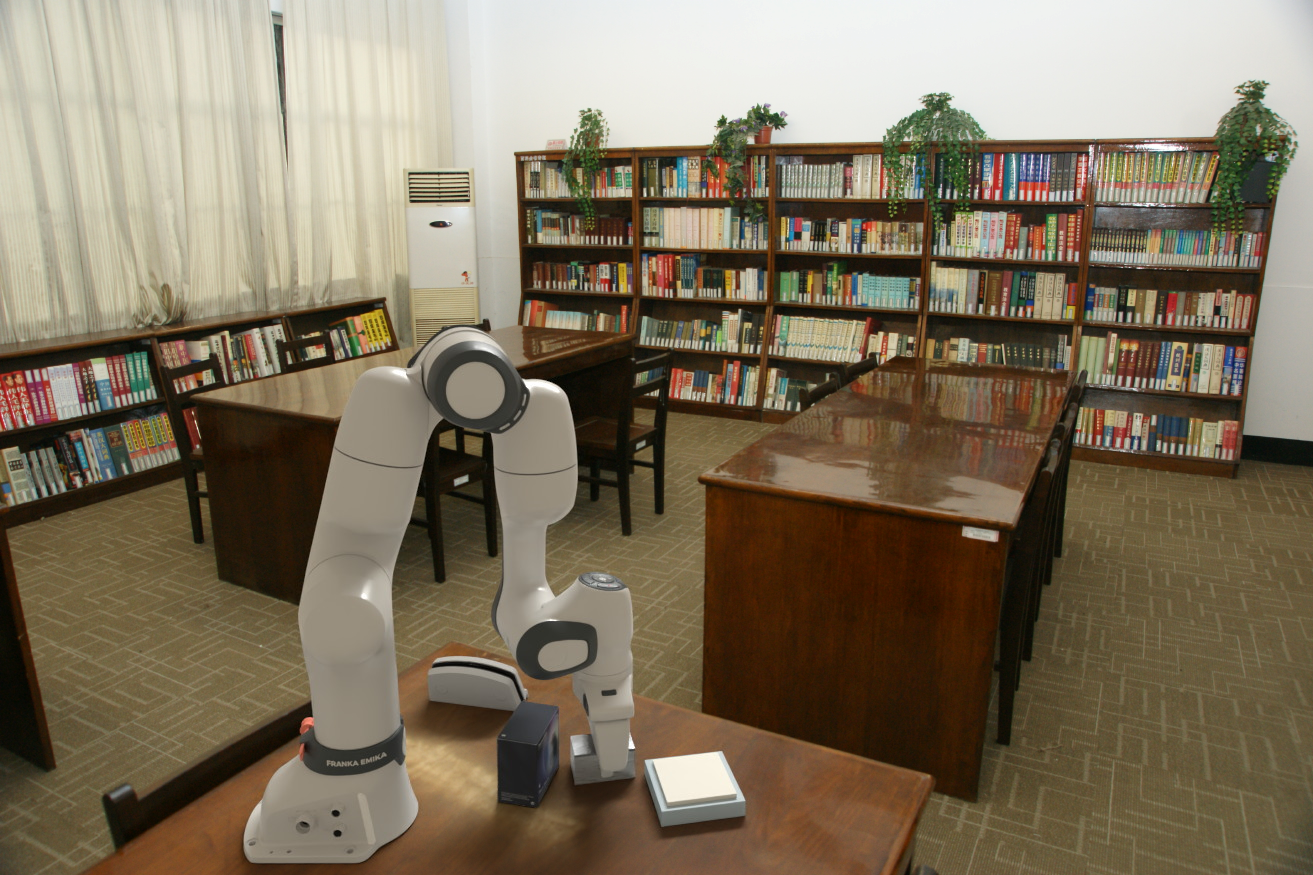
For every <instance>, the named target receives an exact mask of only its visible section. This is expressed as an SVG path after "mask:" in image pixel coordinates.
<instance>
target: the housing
mask: <svg viewBox="0 0 1313 875" xmlns="http://www.w3.org/2000/svg"><path fill="white" fill-rule="evenodd" d="M632 737H633V736H632V735H631V733H630V737H629V749H628V760H627V765H626V767H625V769H624V770H622V771H615V772H613V775H612V776H611V777H604V778H603V777H602V776H601V773H600V767H599V762H598V758H597V754H596V750H595V746H594V742H593V738H592V734H591V733H585V734H576V735H570V739H569V740H570V767H571V772H572V777H573V782H574V786H577V785H585V784H593V783H594V784H595V783H601V782H609V781H617V780H625V779H633V778H636V747H635V744H634V740H633V738H632Z"/></svg>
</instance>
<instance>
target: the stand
mask: <svg viewBox="0 0 1313 875" xmlns="http://www.w3.org/2000/svg"><path fill="white" fill-rule="evenodd" d="M643 775H644V777H645V781H646V782H647V786H648V790H649V792H650V795H651V798H652V801H653V803H654V804H653V805H654V807H655V810H656V813H657V817H658V820H659V824H660V826H661V827H662V828H664V827H670V826H678V825H685V824H691V823H693V824H694V823H700V822H707V821H716V820H721V819H729V818H738V817H745V816H746V804H747V803H746V802H747V801H746V799H745V797H744V794H743V792H742V790H741V788H740V786H739V784H738V782H737V779H736V778H735V776H734V773H733V772H732V769H731V767H730V765H729V763H728V761H727V758H726V757H725V755H724V753H723V751H722V750H721V751H720V750H718V751H711V752H710V751H709V752H703V753H694V754H685V755H677V756H676V755H675V756H668V757H667V756H666V757H659V758H651V759H650V758H649V759H645V760H644V774H643Z"/></svg>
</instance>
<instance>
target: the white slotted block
mask: <svg viewBox="0 0 1313 875" xmlns="http://www.w3.org/2000/svg"><path fill="white" fill-rule="evenodd" d="M430 666H431V668H429V669H428V672H427V674H426V675H427V676H426V681H427V689H428V690H427V691H428V698H429V701H432V702H439V703H446V704H447V703H448V704H456V705H462V706H470V707H478V708H488V709H495V710H502V711H508V712H509V711H510V712H511V711H512V712H514V711H515V710H516V708H517V707H518V705H519V704H520V702H521V701H526V700H527V699H528V698H529V693H528V692H529V691H528V689H527V688H524V686H523V682H522V680H521V677H520V675H519V672H518V670H517V669H516V667H514V666H511V665H509V664H506V663H504V662H499V661H496V660H492V659H489V658H483V657H477V656H468V655H467V656H465V655H464V656H463V655H453V656H443V657H437V658H436V659H434V661H433V662H432V664H431V665H430Z"/></svg>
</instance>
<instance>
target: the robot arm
mask: <svg viewBox="0 0 1313 875" xmlns="http://www.w3.org/2000/svg"><path fill="white" fill-rule="evenodd" d="M443 419H444V420H446V421H448V422H449V423H450V424H453V425H455V426H458V427H461V428H465V429H468V430H469V429H470V430H476V431H481V432H485V433H490V434H491V435H490V436H491V440H492V446H493V451H492V452H493V471H494V472H493V473H494V483H495V490H496V496H497V502H498V506H499V507H498V508H499V511H500V517H501V577H500V583H499V586H498V589H497V591H496V593H495V596H494V599H493V601H492V606H491V612H490V615H491V616H490V618H491V623H492V626H493V629H494V630H495V632H496V633H497V634H498V636H499V637H500V638H501V640H503V642H504V643H505V645H506V647H507V649H508V651H509V652H510V654H511V656H512V657H513V659H514V660H515V662H516V663H517V665H518V668H519V669H520V671H522V672H523V673H524V674H525V675H526V676H527V677H529V678H532V679H534V680H538V681H539V680H540V681H549V680H550V681H551V680H554V679H558V678H562V677H564V676H567V675H572V692H573V694H574V696H575V697H576V698H577V699H578V701H579V702H580V704H581V705H582V707H583V709H584V711H585V713H586V718H587V721H588V725H589V729H590V734H592V738H593V742H594V746H595V750H596V754H597V758H598V762H599V767H600V773H601V776H602V777H603V778H604V777H611V776H612V775H613V772H615V771H622V770H624V769H625V767H626V765H627V760H628V749H629V737H630V734H631V732H630V731H631V718H634V716H635V700H634V695H633V690H634V689H633V688H634V687H633V686H634V682H633V681H634V667H633V666H634V658H633V653H632V650H631V642H632V640H633V637H634V617H633V616H634V615H633V604H632V596H631V591H630V589H629V587H628V586H627V585H626V584H625V583H624V581H623V580H621V579H620V578H618V577H617V576H615V575H613V574H608V573H607V572H602V571H588V572H584V573H581V574H579V575H578V576H577V577H576V579H575V581H574V582H573V583H572V584H571V585H570V586H569V587H568V588H567V589H566V590H564V591H563V592H561V593H560V594H558V595H557V596H556V595H555V593H554V592H553V590H552V588H551V586H550V585H549V583H548V580H547V576H546V542H547V541H546V540H547V539H546V538H547V537H546V535H547V529H548V526H549V525H552V524H555V523H558V522H559V521H561V520H562V519H564V518H565V517H566V516H567V515H568V514H570V511H572V509H573V507H574V505H575V502H576V497H577V496H576V495H577V490H578V482H579V480H578V476H579V474H578V450H577V448H578V447H577V438H576V430H575V424H574V418H573V414H572V410H571V406H570V402H569V398H568V395H567V394H566V392H565V391H564V389H562V388H561V387H560V386H559V385H557V384H555V383H553V382H552V381H551V382H550V381H547V380H543V379H540V378H539V379H538V378H537V379H536V378H530V379H525V378H522V377H521V374H520V373H519V372H518V371H517V369H516V367H515V366H514V364H513V362H512V361H511V360H510V359H509V355H508V353H507V352H506V351H505V349H504V347H503V346H502V344H501V343H500V342H498V341H497V340H496V339H495V338H494V337H493V336H491V335H490V334H489V333H488V332H487V331H485V330H483V329H481V328H480V327H477V326H474V325H471V324H463V323H462V324H461V323H460V324H453V325H449V326H447V327H444V328H442V329H440V330H439V331H437V332H436V333H434V334H433V335H432V336H431V337H430V338H429V339H428V340H427V341H426V342H425V343H424V344H423V345H422V347H421V348H420V349H418V351H417V352H416V353H415V354H413V356H412V357H411V358H410V359H409V360H408V362H407V365H406V367H398V366H393V365H392V366H391V365H390V366H388V365H383V366H377V367H376V366H375V367H373V368H370V369H367V370H365V371H364V372H362V373H361V374H360V376H359V377H358V378H357V380H356V381H355V383H354V386H353V388H352V390H351V392H350V394H349V397H348V399H347V401H346V405H345V406H344V409H343V412H342V415H341V418H340V422H339V425H338V428H337V432H336V436H335V440H334V442H333V443H334V444H333V448H332V453H331V458H330V462H329V467H328V472H327V477H326V481H325V486H324V490H323V494H322V499H321V504H320V508H319V512H318V518H317V521H316V525H315V529H314V530H315V531H314V534H313V539H312V544H311V547H310V552H309V557H308V560H307V566H306V568H305V569H306V570H305V576H304V581H303V585H302V591H301V595H300V600H299V606H298V610H297V611H298V612H297V618H298V620H297V621H298V626H299V634H300V642H301V646H302V653H303V658H304V663H305V667H306V673H307V675H308V676H307V677H308V681H309V687H310V688H309V689H310V699H311V710H312V717H311V716H310V717H309V716H308V717H305V718H304V719H303V720H302V722H301V726H300V728H299V734H301V736H300V738H299V742H298V743H299V744H298V746H299V751H298V754H297V755H296V756H295V757H293V758H292V759H290V760H289V761H287V763H286V762H285V764H284V765H282V766H281V767H279V768H278V769H277V770H276V771H275V772H274V774H273V775H272V777H271V778H270V780H269V782H268V783H267V785H266V788H265V790H264V793H263V797H262V799H261V800H260V801H259V802H258V803H257V804H256V806H255V807H254V808H253V810H252V812H251V813H250V816H249V818H248V820H247V822H246V825H245V829H244V833H243V852H244V855H245V857H246V859H247V860H248V861H249V862H250V863H253V864H359V863H362V862H365V861H367V860H368V859H369V858H370V857H371V856H372V855H373V854H374V853H376V851H377V850H378V849H380V848H381V847H382V846H384V845H386V844H388V843H389V842H391V841H393V840H395V839H397V838H398V837H400V836H401V835H402V834H403V833H405V832H406V831H407V830H408V828H409V827H410V826H411V825H412V824H413V823H414V822H415V820H416V818H417V815H418V812H419V802H418V800H417V799H418V798H417V797H416V795H415V792H414V790H413V788H412V784H411V782H410V776H409V774H408V770H407V765H406V755H407V736H406V735H407V734H406V726H405V724H404V722H405V721H404V718H403V717H404V716H403V715H402V714H401V709H400V698H399V693H400V692H399V684H398V683H399V681H398V680H399V678H398V668H397V665H398V664H397V656H396V644H395V642H396V641H395V631H394V629H395V628H394V627H395V626H394V615H393V614H394V613H393V595H392V594H393V591H392V590H393V589H392V588H393V577H394V570H395V566H396V562H397V559H398V555H399V551H400V548H401V545H402V542H403V539H404V536H405V533H406V530H407V528H408V524H409V523H410V521H411V517H412V513H413V509H414V506H415V500H416V497H417V494H418V492H417V491H418V487H419V483H420V480H421V479H420V478H421V475H422V471H423V467H424V463H425V457H426V452H427V448H428V443H429V440H430V438H431V435H432V434H433V431H434V429H435V427H436V426H437V425H438V424H439V422H441V421H442V420H443Z"/></svg>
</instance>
